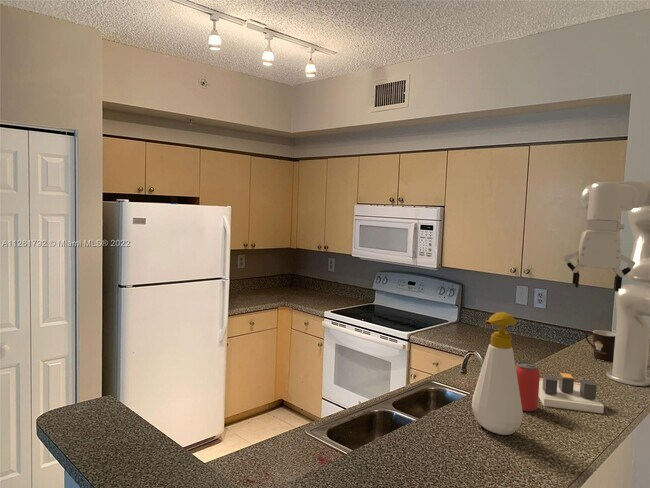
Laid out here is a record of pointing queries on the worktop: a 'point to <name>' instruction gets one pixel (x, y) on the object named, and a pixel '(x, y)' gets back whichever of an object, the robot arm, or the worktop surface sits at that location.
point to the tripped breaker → (566, 382)
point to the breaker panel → (569, 395)
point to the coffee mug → (603, 344)
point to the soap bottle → (498, 383)
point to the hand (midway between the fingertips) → (595, 288)
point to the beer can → (528, 385)
